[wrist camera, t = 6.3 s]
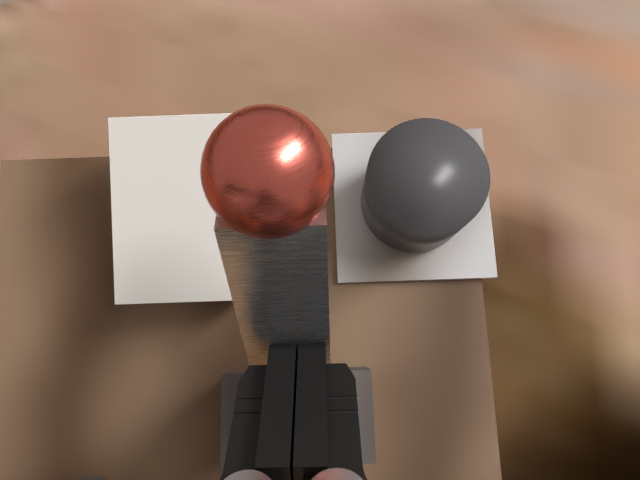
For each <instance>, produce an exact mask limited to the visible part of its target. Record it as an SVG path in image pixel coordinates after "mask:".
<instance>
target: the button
mask: <svg viewBox="0 0 640 480" xmlns="http://www.w3.org/2000/svg"><path fill="white" fill-rule="evenodd" d="M489 188H490V171H489V165H488V162H487V159H486V157H485V154H484V152H483V150H482V149H481V147H480V146H479V144H478V143H477V142H476V141H475V140H474V138H473V137H471V136H470V135H469V134H468V133H467V132H466V131H464V130H463V129H461V128H460V127H458V126H456V125H454V124H452V123H449V122H446V121H443V120H439V119H432V118H421V119H414V120H409V121H406V122H403V123H401V124H399V125H397V126H395V127H393V128H392V129H390V130H389V131H388V132H386V133H385V134H384V135H383V136H382V137H381V138H380V140H379V141H378V142H377V143H376V145H375V147H374V148H373V150H372V152H371V155H370V158H369V161H368V165H367V170H366V174H365V179H364V183H363V188H362V193H361V208H362V213H363V217H364V219H365V222H366V224H367V225H368V227H369V229H370V230H371V231H372V233H373V234H374V235H375V236H376V237H377V238H378V239H379V240H381V241H382V242H383V243H385V244H386V245H388V246H390V247H392V248H394V249H397V250H400V251H404V252H412V253H418V252H426V251H430V250H433V249H435V248H438V247H440V246H441V245H443V244H445V243H446V242H447V241H449V240H450V239H451V238H452V237H453V236H454V235H455V234H457V233H458V232H459V231H460V230H461V229H462V228H463V227H465V226H466V225H467V224H468V223H469V222H470V221H471V220H472V219H473V218H474V217H475V216H476V215H477V214H478V213H479V211H480V210H481V209H482V207H483V205H484V203H485V201H486V199H487V196H488V192H489Z"/></svg>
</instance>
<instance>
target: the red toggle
mask: <svg viewBox="0 0 640 480" xmlns="http://www.w3.org/2000/svg"><path fill="white" fill-rule="evenodd" d="M200 177H201V184H202V188H203V191H204V194H205V197H206V199H207V201H208V203H209V205H210V207H211V208H212V210H213V211H214V212H215V214H216V219H215V225H214V232H215V236H216V240H217V243H218V247H219V251H220V255H221V259H222V263H223V266H224V270H225V274H226V278H227V282H228V285H229V289H230V293H231V297H232V301H233V305H234V308H235V312H236V316H237V320H238V324H239V328H240V331H241V335H242V339H243V343H244V347H245V350H246V354H247V358H248V362H249V365H267V358H268V350H269V345H275V344H297V350H298V346H299V344H320V343H326V364H328V363H331V358H330V323H329V288H328V254H327V221H326V205H327V203H328V201H329V199H330V196H331V194H332V190H333V186H334V180H335V165H334V158H333V154H332V151H331V148H330V146H329V144H328V141H327V139H326V138H325V136H324V135H323V133H322V132H321V130H320V129H319V128H318V127H317V126H316V125H315V124H314V123H313V122H312V121H311V120H310V119H309V118H307V117H306V116H305V115H303V114H301V113H300V112H298V111H296V110H293V109H291V108H289V107H286V106H281V105H275V104H257V105H252V106H248V107H245V108H242V109H240V110H238V111H236V112H234V113H232V114H230V115H229V116H228V117H226V118H225V119H224V120H222V121H221V122H220V123H219V124H218V126H217V127H216V128H215V129H214V130H213V132H212V133H211V135H210V137H209V138H208V140H207V142H206V144H205V147H204V150H203V153H202V157H201V164H200Z"/></svg>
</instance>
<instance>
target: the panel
mask: <svg viewBox="0 0 640 480" xmlns="http://www.w3.org/2000/svg"><path fill="white" fill-rule="evenodd" d="M463 130H464V131H466V132H467V133H468V134H469V135H470V136H471V137H473V138H474V140H475V141H476V142H477V143H478V144H479V146H480V147H481V149H482V150H483V152H484V146H483V137H482V129H463ZM385 133H386V132H373V133H346V134H332V149H331V151H332V154H333V158H334V165H335V180H334V186H333V190H332V194H331V196H330V199H329V201H328V203H327V205H326V221H327V254H328V288H329V323H330V358H331V363H346V364H347V365H348V367H349V369H350V370H351V372H352V373H353V375H354V377H355V379H356V391H357V403H358V415H359V427H360V439H361V451H362V463H363V470H364V473H365V476H366V478H367V480H502V476H501V466H500V456H499V446H498V436H497V426H496V416H495V406H494V396H493V386H492V376H491V366H490V356H489V346H488V336H487V326H486V316H485V306H484V296H483V286H482V279H490V278H497V268H496V259H495V249H494V240H493V230H492V221H491V212H490V202H489V193H488V196H487V199H486V201H485V203H484V205H483V207H482V209H481V210H480V211H479V213H478V214H477V215H476V216H475V217H474V218H473V219H472V220H471V221H470V222H469V223H468V224H467V225H466V226H465V227H463V228H462V229H461V230H460V231H459V232H458V233H457V234H455V235H454V236H453V237H452V238H451V239H450V240H449V241H447V242H446V243H445V244H443V245H441V246H440V247H438V248H435V249H433V250H430V251H426V252H418V253H412V252H404V251H400V250H397V249H394V248H392V247H390V246H388V245H386V244H385V243H383V242H382V241H381V240H379V239H378V238H377V237H376V236H375V235H374V234H373V233H372V231H371V230H370V229H369V227H368V225H367V224H366V222H365V219H364V217H363V213H362V208H361V193H362V188H363V183H364V179H365V174H366V170H367V165H368V161H369V158H370V155H371V152H372V150H373V148H374V147H375V145H376V143H377V142H378V141H379V140H380V138H381V137H382V136H383V135H384V134H385ZM248 367H249V362H248V358H247V354H246V350H245V347H244V343H243V339H242V335H241V331H240V328H239V324H238V320H237V316H236V312H235V308H234V305H233V301H203V302H174V303H144V304H115V296H114V268H113V239H112V211H111V182H110V157H89V158H62V159H35V160H7V161H1V166H0V480H220V478H221V475H222V472H223V469H224V463H225V457H226V452H227V446H228V440H229V434H230V429H231V423H232V417H233V412H234V406H235V402H236V394H237V389H238V383H239V380H240V378H241V377H242V376H243V374H244V373H245V371H246V370H247V368H248Z"/></svg>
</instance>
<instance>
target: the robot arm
mask: <svg viewBox="0 0 640 480" xmlns="http://www.w3.org/2000/svg"><path fill="white" fill-rule="evenodd" d="M220 480H367V478H366V476H365V473H364V470H363V463H362V451H361V439H360V427H359V415H358V403H357V391H356V379H355V377H354V375H353V373H352V372H351V370H350V369H349V367H348V365H347V364H346V363H328V364H326V343H320V344H299V346H298V350H297V344H275V345H269V350H268V358H267V365H249V367H248V368H247V370H246V371H245V373H244V374H243V376H242V377H241V378H240V380H239V383H238V389H237V394H236V402H235V406H234V412H233V417H232V423H231V429H230V434H229V440H228V446H227V452H226V457H225V463H224V469H223V472H222V475H221V478H220Z"/></svg>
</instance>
